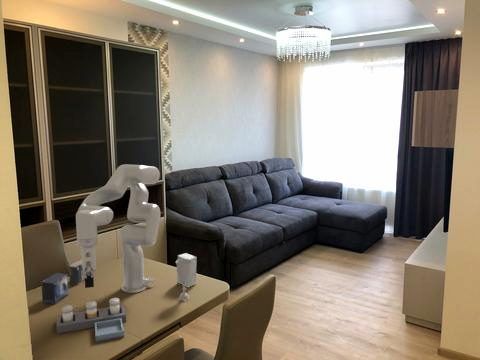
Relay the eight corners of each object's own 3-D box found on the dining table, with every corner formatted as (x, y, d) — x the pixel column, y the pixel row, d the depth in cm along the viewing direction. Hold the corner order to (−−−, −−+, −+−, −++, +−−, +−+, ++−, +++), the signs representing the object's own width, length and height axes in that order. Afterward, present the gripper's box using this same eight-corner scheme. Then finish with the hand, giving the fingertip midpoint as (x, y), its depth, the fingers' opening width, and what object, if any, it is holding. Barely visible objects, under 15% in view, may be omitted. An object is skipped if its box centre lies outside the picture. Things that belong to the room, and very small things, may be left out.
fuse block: (124, 311, 173) (123, 304, 173) (126, 321, 165) (125, 314, 164) (58, 322, 164) (57, 315, 163) (56, 333, 156) (56, 326, 155)
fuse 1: (73, 322, 164) (72, 304, 162) (73, 327, 160) (72, 308, 159) (63, 324, 162) (61, 305, 161) (62, 329, 159) (61, 310, 157)
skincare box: (176, 283, 201) (176, 255, 199) (185, 280, 206) (185, 252, 203) (188, 288, 196) (187, 259, 193) (197, 284, 200) (196, 256, 198)
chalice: (194, 296, 187) (194, 260, 184) (188, 303, 181) (187, 265, 178) (180, 294, 189) (179, 258, 186) (173, 300, 183) (172, 263, 180)
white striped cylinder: (97, 318, 167) (96, 300, 166) (97, 323, 163) (96, 304, 162) (87, 320, 166) (85, 302, 164) (87, 325, 162) (86, 306, 160)
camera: (76, 286, 198) (75, 266, 196) (67, 284, 199) (65, 265, 198) (91, 277, 208) (90, 258, 207) (82, 275, 210) (81, 257, 208)
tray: (121, 323, 163) (121, 318, 163) (124, 336, 154) (123, 330, 153) (95, 328, 159) (94, 322, 159) (95, 342, 150) (95, 336, 150)
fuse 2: (119, 314, 170) (119, 297, 169) (120, 319, 166) (119, 301, 165) (109, 316, 169) (109, 298, 167) (110, 321, 165) (109, 302, 164)
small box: (54, 305, 178) (53, 283, 176) (42, 303, 179) (40, 281, 178) (69, 294, 188) (68, 273, 187) (57, 293, 190) (55, 272, 188)
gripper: (98, 246, 152) (100, 289, 154) (96, 234, 168) (98, 273, 170) (76, 249, 149) (79, 292, 152) (77, 236, 165) (79, 275, 168)
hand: (89, 282), depth 161 cm, fingers open, 9 cm apart
